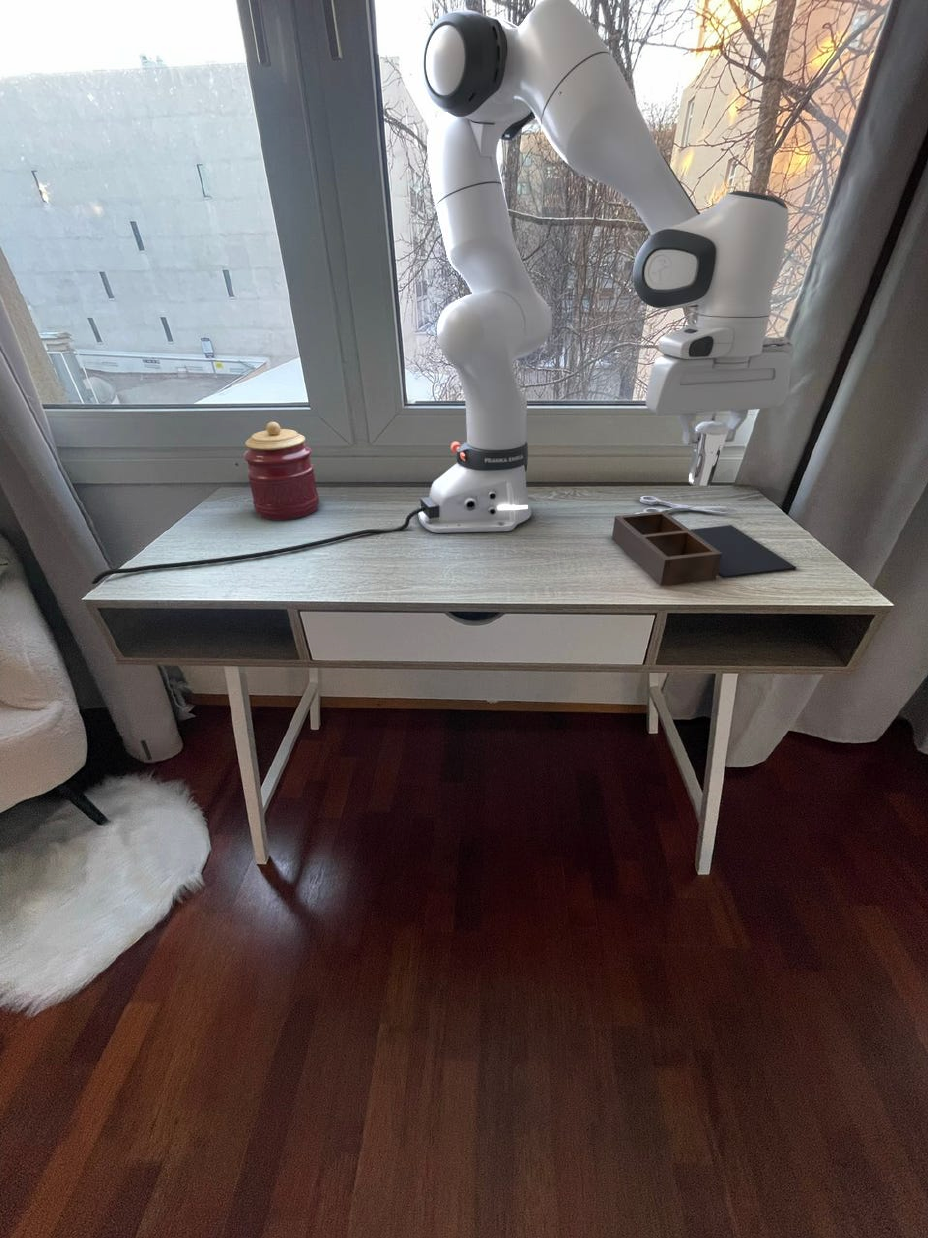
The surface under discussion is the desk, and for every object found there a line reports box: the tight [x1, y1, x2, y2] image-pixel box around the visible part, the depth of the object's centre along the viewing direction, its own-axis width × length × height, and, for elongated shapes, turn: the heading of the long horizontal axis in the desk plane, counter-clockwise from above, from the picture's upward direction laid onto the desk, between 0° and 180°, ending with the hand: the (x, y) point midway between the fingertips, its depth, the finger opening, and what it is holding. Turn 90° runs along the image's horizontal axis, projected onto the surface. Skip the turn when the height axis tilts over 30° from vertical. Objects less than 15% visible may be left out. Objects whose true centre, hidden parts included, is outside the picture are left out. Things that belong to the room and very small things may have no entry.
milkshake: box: [688, 412, 729, 487], centre depth 87 cm, size 4×5×10 cm
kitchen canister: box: [242, 421, 320, 521], centre depth 118 cm, size 13×13×18 cm
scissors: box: [634, 495, 741, 516], centre depth 117 cm, size 11×1×20 cm
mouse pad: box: [690, 524, 797, 579], centre depth 102 cm, size 13×18×1 cm
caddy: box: [611, 511, 722, 587], centre depth 99 cm, size 10×18×4 cm, turn 12°
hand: (707, 442), depth 87 cm, fingers closed on milkshake, 4 cm apart
